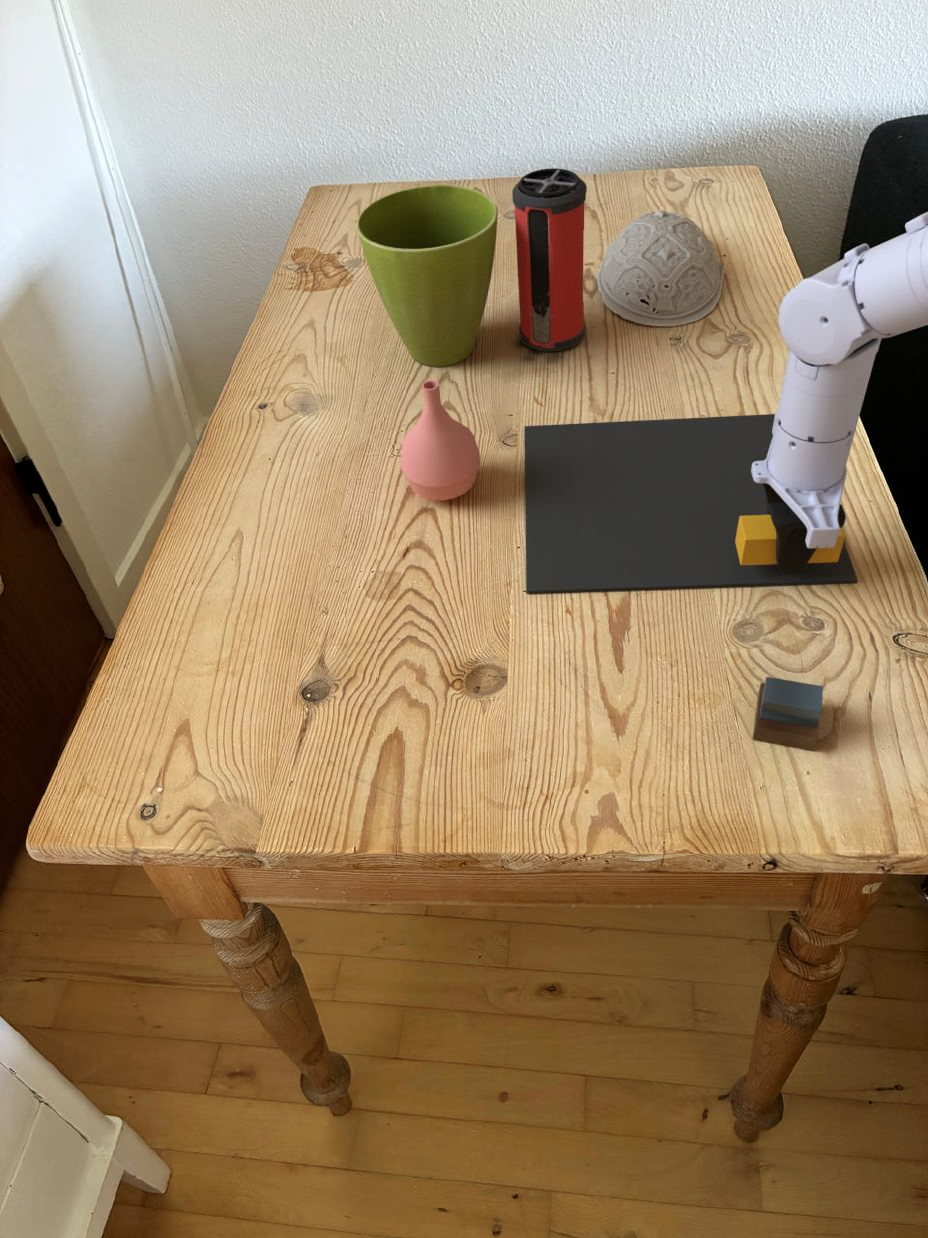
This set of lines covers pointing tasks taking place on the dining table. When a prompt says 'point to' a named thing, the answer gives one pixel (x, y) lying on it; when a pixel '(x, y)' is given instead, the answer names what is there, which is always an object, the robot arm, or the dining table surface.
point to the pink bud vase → (439, 451)
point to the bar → (772, 542)
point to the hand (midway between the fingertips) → (785, 552)
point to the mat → (650, 506)
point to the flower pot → (432, 266)
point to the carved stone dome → (661, 271)
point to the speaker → (550, 258)
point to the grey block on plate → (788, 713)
